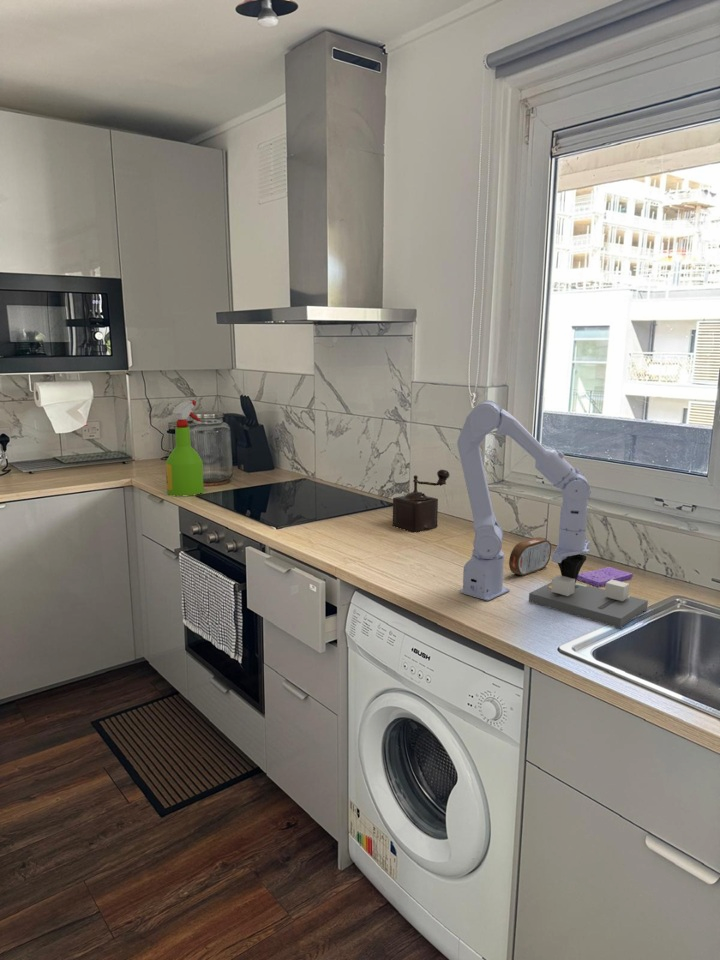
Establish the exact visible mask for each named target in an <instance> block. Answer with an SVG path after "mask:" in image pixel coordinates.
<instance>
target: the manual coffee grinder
mask: <svg viewBox="0 0 720 960" xmlns="http://www.w3.org/2000/svg"><path fill="white" fill-rule="evenodd" d="M436 475H437V478H438V480H437V481H436V482H429V481H419V480H418V479H419V476H418V475H416V474H415V475H413V481H412V482H413V491H411V492H408V493H406V495H402V496H396V497H395V496H394V497H393V499H392V527H394V526H395V527H394V528H396V527H398V528H397V529H400V528H401V529H400V530H403V529H405V530H404V531H407V530H408V531H407V532H410V531H411V532H410V533H414V532H416V533H419V532H420V531H421V532H425V530H426V531H430V530H432V529H435V528H437V527H438V526H439V525H438V513H439V512H438V508H439V499H438V498H436V497H432V496H428V495H426V494H425V493H423V492H422V491H418V484H419V485H429V486H435V487H436V486H440V487H441V486H443V485H447V482H446V481H447V480H448V479H449V478H450V472H449V471H448V470H445V469H439V470H438V471H437V473H436ZM421 532H420V533H421Z"/></svg>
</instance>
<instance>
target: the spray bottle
mask: <svg viewBox="0 0 720 960" xmlns="http://www.w3.org/2000/svg"><path fill="white" fill-rule="evenodd" d="M196 405H197V401H196V400H195V399H191V400H187V401H186V400H185V401H184V402H181V403H179V404H177V405H176V407H174V409H173V411H172V412H171V413H172V414H176V424H175V425H176V426H175V427H174V429H175V430H174V431H175V435H174V436H175V447H174V448H173V449H172V451H171V452H170V453H169V456H168V457H167V459H166V461H165V472H166V473H165V474H166V489H167V490H166V491H167V493H168V494H169V495H168V494H167V495H168V496H170V495H175V496H174V497H177V495H179V496H183V495H194V494H199V493H202V494H204V493H203V492H204V491H205V489H204V466H203V461H204V460H203V459H202V458H201V456H200V454H199V453H198V452H197V451H196V450H195V449H194V448H193V447H192V444H191V433H190V432H191V431H190V430H191V428H190V426H189V422H188V420H187V419H188V418H189V417H190V418H192V419H194V420H195V421H196V422H203V420H201V419H200V418H199V417H198V416H197V415H195V414H194V407H195V406H196Z"/></svg>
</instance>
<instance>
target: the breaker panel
mask: <svg viewBox="0 0 720 960" xmlns="http://www.w3.org/2000/svg"><path fill="white" fill-rule="evenodd" d="M551 589H552V581H551V582H549V583H547V584H544V585H543V586H541V587H539V588H537V589H535V590H533V591H531V592H529V593H528V602H529V603H532V604H536V605H538V606H543V607H547V608H550V609H554V610H557V611H560V612H563V613H568V614H572V615H575V616H578V617H581V618H584V619H588V620H591V621H595V622H600V623H602V624H606V625H610V626H612V625H614V626H613V627H616V628H619V629H621V628H622V627H623V626H625V625H626V624H628V623H629V622H631V621H633V620H634V619H636V617H638V616H640V615H641V614H642V613H644V612H645V611H647V610H648V603H649V601H648V600H646V599H643V598H638V597H635V596H631V595H629V596H628V598H627V599H625V600H624V601H620V600H616V599H612V598H608V597H605V589H604V588H603V589H602V588H601V587H597V586H593V585H592V586H591V585H587V584H585V583H580V582H576V583H575V589H574V593H573V594H571V595H569V596H566V595H562V594H558V593H554V592H551ZM646 609H647V610H646ZM643 611H644V612H643ZM639 614H640V615H639Z"/></svg>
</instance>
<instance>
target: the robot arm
mask: <svg viewBox="0 0 720 960" xmlns="http://www.w3.org/2000/svg"><path fill="white" fill-rule="evenodd" d="M495 429H497V430H496V432H495V434H498V435H502V436H503V435H504V436H508V437H510V438H511V439H513V441H514V442H515V443H517V445H519V446H520V447H521V448H522V449H523V450H524V451H525V452H527V453H528V454H529V455H530V456H531V457H532V458H533V459H534V460H535V464H534V465H535V469H536V470H537V471H538V472H539V473H540V474H541V475H543V476H544V478H546V479H547V481H548V482H550V483H551V485H553V486H554V487H555V488H556V489H559V490H561V495H562V500H561V501H562V503H561V506H560V516H559V526H558V527H559V530H558V545H557V546H556V547H555V550H554V551H553V552H551V559H550V561H551V562H553V563H557V565H558V567H559V570H560V575H561V576H565V577H569V578H573V579H575V583H577V581H578V580H577V577H578V574H579V573H580V571H581V568H582V567H583V565H584V563H585V562H586V561H587V555H588V554H590V551H591V550H590V548H591V547H590V546H591V541H590V540H587V539H586V536H587V527H588V526H587V525H588V524H587V523H588V522H587V521H588V513H589V512H588V508H587V507H588V504H589V502H588V499H589V497H590V496H591V493H592V492H591V489H590V485H589V482H588V479H587V477H585V476H584V475H585V474H583V473H581V472H580V469H578V467H575V468H574V467H573V465H571V464H570V463H569V462H568V461H567V460H566V459H565V458H564V457H565V454H564V453H563V452H562V450H561V451H560V450H559V451H556V449H553V448H551V449H548V448H547V449H546V448H545V447H544V446H543V444H541V443H540V442H539V440H537V439H536V438H535V436H533V434H531V433H530V432H529V430H528V429H526V428H525V426H523V424H522V423H521V422H520V421H519V420H518V419H517V418H515V416H513V415H512V414H511V413H510V412H509V411H507V410H505V409H504V408H501V407H500V405H499V404H498V403H497V402H496V401H493V400H489V399H488V400H484V401H481V402H479V403H478V404H477V405H476V406H475V407H474V408H473V409H472V410H471V411H470V413H469V414H468V415H467V416H466V417H465V420H464V423H463V426H462V428H461V431H460V433H459V436H458V438H457V449H458V454H459V458H460V462H461V467H462V472H463V476H464V480H465V486H466V491H467V494H468V499H469V504H470V509H471V513H472V518H473V519H472V520H473V530H474V539H473V543H472V545H473V549H472V554H471V558H470V559H469V560H468V561H467V562H466V563H465V564H464V566H463V573H462V575H463V576H462V577H463V578H462V589H459V593H461V594H464V595H467V596H471V597H474V598H476V599H477V598H478V599H481V600H483V601H491V600H493V599H495V598H498V597H499V596H502V595H503V594H504V595H505V594H506V593H508V592H510V591H511V589H510V588H509V587H505V586H503V584H504V561H505V552H504V551H503V550H502V548H503V547H502V546H503V540H504V537H505V536H504V535H505V534H504V530H503V527H501V526H500V525H499V523H498V521H497V516H496V514H495V512H494V507H493V503H492V499H491V494H490V489H489V485H488V480H487V477H486V471H485V466H484V461H483V458H482V452H481V448H480V447H481V446H480V445H481V443H482V442H483V441H484V439H485V437H486V436H487V435H488V434H490V433H492V432H493V431H494V430H495Z"/></svg>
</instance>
